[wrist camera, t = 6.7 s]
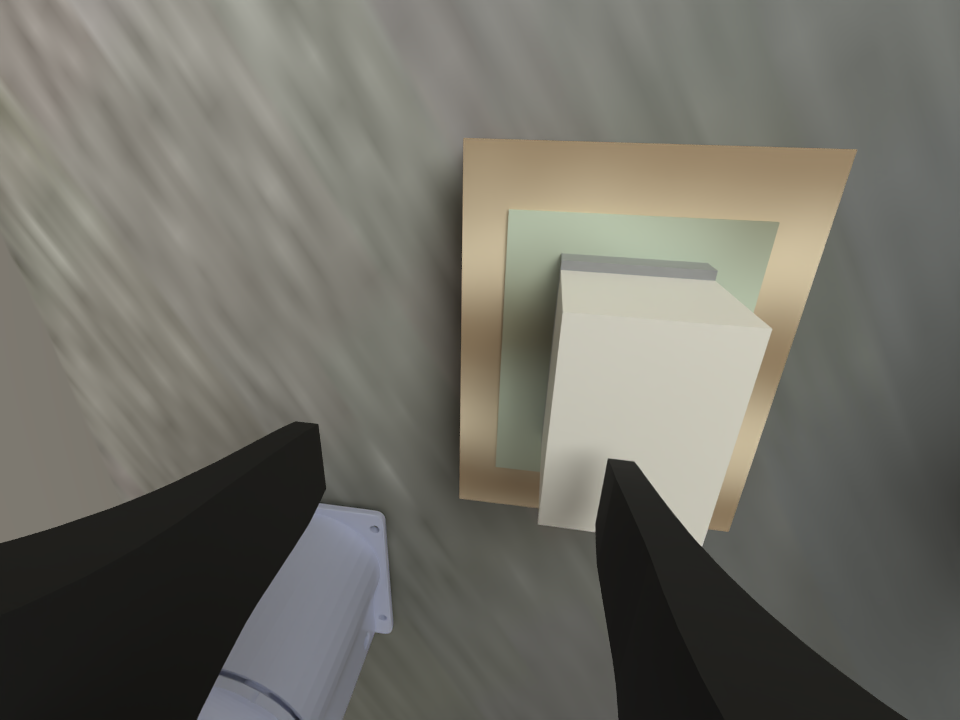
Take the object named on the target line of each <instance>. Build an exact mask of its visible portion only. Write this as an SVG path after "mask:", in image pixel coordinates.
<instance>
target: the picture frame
mask: <svg viewBox="0 0 960 720" xmlns="http://www.w3.org/2000/svg"><path fill="white" fill-rule="evenodd" d="M856 152H857V150H856V149H821V148H787V147H753V146H719V145H685V144H650V143H616V142H582V141H548V140H513V139H479V138H464V140H463V227H462V313H461V400H460V487H459V498H460V499H468V500H476V501H484V502H492V503H500V504H509V505H517V506H525V507H533V508H539V488H540V466H541V435H542V426H543V417H544V408H545V399H546V390H547V380H548V371H549V362H550V353H551V344H552V335H553V326H554V317H555V308H556V299H557V290H558V280H559V271H560V262H561V253H565V254H580V255H595V256H610V257H625V258H640V259H655V260H670V261H685V262H700V263H708V264H710V265H711V266H712V267H714V268H715V269H716V270H718V272H717V276H716V280H715V281H716V282H717V283H718V284H720V285H721V286H722V287H723V288H724V289H726V290H727V291H728V292H729V293H730V294H732V295H733V296H734V297H735V298H736V299H737V300H739V301H740V302H741V303H742V304H743V305H745V306H746V307H747V308H748V309H749V310H751V311H752V312H753V313H754V314H755V315H756V316H758V317H759V318H760V319H761V320H762V321H764V322H765V323H766V324H767V325H768V326H770V327H771V328H772V332H771V335H770V338H769V341H768V344H767V347H766V350H765V354H764V357H763V360H762V363H761V366H760V369H759V372H758V375H757V378H756V381H755V385H754V388H753V391H752V394H751V397H750V400H749V403H748V406H747V409H746V412H745V416H744V419H743V422H742V425H741V428H740V431H739V434H738V437H737V440H736V443H735V446H734V450H733V453H732V456H731V459H730V462H729V465H728V468H727V471H726V474H725V477H724V481H723V484H722V487H721V490H720V493H719V496H718V499H717V502H716V505H715V508H714V511H713V515H712V518H711V521H710V524H709V527H708V529H711V530H719V531H727V532H729V529H730V526H731V523H732V520H733V517H734V514H735V511H736V508H737V505H738V502H739V499H740V496H741V493H742V490H743V488H744V485H745V482H746V479H747V476H748V473H749V470H750V467H751V464H752V461H753V458H754V455H755V452H756V449H757V446H758V443H759V440H760V437H761V434H762V431H763V428H764V425H765V422H766V419H767V416H768V413H769V410H770V407H771V404H772V401H773V398H774V395H775V392H776V389H777V386H778V384H779V381H780V378H781V375H782V372H783V369H784V366H785V363H786V360H787V357H788V354H789V351H790V348H791V345H792V342H793V339H794V336H795V333H796V330H797V327H798V324H799V321H800V318H801V315H802V312H803V309H804V306H805V303H806V300H807V297H808V294H809V291H810V288H811V285H812V282H813V280H814V277H815V274H816V271H817V268H818V265H819V262H820V259H821V256H822V253H823V250H824V247H825V244H826V241H827V238H828V235H829V232H830V229H831V226H832V223H833V220H834V217H835V214H836V211H837V208H838V205H839V202H840V199H841V196H842V193H843V190H844V187H845V184H846V181H847V178H848V176H849V173H850V170H851V167H852V164H853V161H854V158H855V155H856Z"/></svg>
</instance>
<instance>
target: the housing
mask: <svg viewBox="0 0 960 720" xmlns="http://www.w3.org/2000/svg"><path fill="white" fill-rule="evenodd" d="M717 272H718V270H716V269H715V268H714V267H712V266H711V265H710V264H708V263H700V262H685V261H670V260H655V259H640V258H625V257H610V256H595V255H580V254H565V253H561V262H560V271H559V280H558V290H557V299H556V308H555V317H554V326H553V335H552V344H551V353H550V362H549V371H548V380H547V390H546V399H545V408H544V417H543V426H542V435H541V466H540V488H539V510H538V525H546V526H553V527H561V528H568V529H576V530H583V531H591V532H595V523H596V517H597V512H598V507H599V502H600V496H601V491H602V486H603V481H604V476H605V470H606V465H607V460H608V458H610V459H618V460H627V461H634V462H635V463H636V464H637V465H638V467H639V468H640V469H641V471H642V472H643V473H644V475H645V476H646V478H647V479H648V480H649V482H650V483H651V484H652V486H653V487H654V488H655V490H656V491H657V492H658V494H659V495H660V496H661V498H662V499H663V500H664V502H665V503H666V504H667V506H668V507H669V508H670V509H671V511H672V512H673V513H674V514H675V516H676V517H677V518H678V519H679V521H680V522H681V523H682V524H683V526H684V527H685V528H686V529H687V530H688V532H689V533H690V534H691V535H692V536H693V538H694V539H695V540H696V541H697V542H698V543H699V544H700V545H701V546H703V542H704V539H705V536H706V533H707V530H708V527H709V524H710V521H711V518H712V515H713V511H714V508H715V505H716V502H717V499H718V496H719V493H720V490H721V487H722V484H723V481H724V477H725V474H726V471H727V468H728V465H729V462H730V459H731V456H732V453H733V450H734V446H735V443H736V440H737V437H738V434H739V431H740V428H741V425H742V422H743V419H744V416H745V412H746V409H747V406H748V403H749V400H750V397H751V394H752V391H753V388H754V385H755V381H756V378H757V375H758V372H759V369H760V366H761V363H762V360H763V357H764V354H765V350H766V347H767V344H768V341H769V338H770V335H771V332H772V328H771V327H770V326H768V325H767V324H766V323H765V322H764V321H762V320H761V319H760V318H759V317H758V316H756V315H755V314H754V313H753V312H752V311H751V310H749V309H748V308H747V307H746V306H745V305H743V304H742V303H741V302H740V301H739V300H737V299H736V298H735V297H734V296H733V295H732V294H730V293H729V292H728V291H727V290H726V289H724V288H723V287H722V286H721V285H720V284H718V283H717V282H716V281H715V280H716V276H717Z"/></svg>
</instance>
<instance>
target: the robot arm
mask: <svg viewBox="0 0 960 720" xmlns="http://www.w3.org/2000/svg"><path fill="white" fill-rule="evenodd" d="M325 490H326V484H325V475H324V467H323V459H322V451H321V442H320V434H319V426H318V424H313V423H304V422H293V423H291V424H289V425H287V426H284V427H282V428H280V429H278V430H276V431H274V432H272V433H270V434H269V435H267V436H265V437H263V438H261V439H259V440H257V441H255V442H253V443H252V444H250V445H248V446H246V447H244V448H242V449H240V450H238V451H236V452H234V453H232V454H231V455H229V456H227V457H225V458H223V459H221V460H219V461H217V462H215V463H213V464H211V465H209V466H207V467H205V468H203V469H201V470H198V471H196V472H194V473H192V474H190V475H188V476H186V477H184V478H182V479H180V480H178V481H176V482H174V483H171V484H169V485H167V486H165V487H162V488H160V489H158V490H155V491H153V492H151V493H148V494H146V495H143V496H141V497H138V498H136V499H133V500H131V501H128V502H126V503H123V504H121V505H119V506H116V507H113V508H110V509H107V510H105V511H102V512H99V513H96V514H93V515H90V516H87V517H84V518H81V519H78V520H75V521H73V522H70V523H67V524H64V525H61V526H58V527H55V528H52V529H48V530H45V531H42V532H39V533H35V534H32V535H28V536H25V537H21V538H18V539H15V540H11V541H7V542H3V543H0V720H343V717H344V715H345V712H346V709H347V706H348V704H349V701H350V698H351V696H352V693H353V690H354V687H355V685H356V682H357V679H358V677H359V674H360V671H361V669H362V666H363V663H364V660H365V658H366V655H367V652H368V650H369V647H370V644H371V641H372V639H373V636H374V633H375V632H377V633H383V634H388V633H390V632H391V631H392V628H393V612H392V599H391V586H390V572H389V559H388V546H387V533H386V520H385V516H384V515H383V514H382V513H381V512H379V511H375V510H368V509H360V508H352V507H345V506H337V505H329V504H321V503H320V501H321V498H322V496H323V494H324V492H325ZM375 526H377V527H378V528H377V527H375ZM595 533H596V555H597V568H598V574H599V581H600V587H601V593H602V599H603V605H604V611H605V617H606V623H607V629H608V635H609V641H610V647H611V653H612V659H613V665H614V673H615V681H616V691H617V705H618V718H619V720H908V719H906V718H905V717H903V716H902V715H900V714H899V713H897V712H896V711H894V710H893V709H891V708H890V707H888V706H887V705H885V704H884V703H883V702H881V701H880V700H878V699H877V698H876V697H874V696H873V695H871V694H870V693H869V692H867V691H866V690H865V689H863V688H862V687H861V686H859V685H858V684H857V683H855V682H854V681H853V680H851V679H850V678H849V677H847V676H846V675H845V674H843V673H842V672H841V671H839V670H838V669H836V668H835V667H834V666H833V665H831V664H830V663H829V662H827V661H826V660H825V659H824V658H822V657H821V656H820V655H819V654H817V653H816V652H815V651H813V650H812V649H811V648H810V647H808V646H807V645H806V644H805V643H804V642H802V641H801V640H800V639H799V638H798V637H796V636H795V635H794V634H793V633H792V632H790V631H789V630H788V629H787V628H786V627H785V626H783V625H782V624H781V623H780V622H779V621H777V620H776V619H775V618H774V617H773V616H772V615H770V614H769V613H768V612H767V611H766V610H765V609H764V608H763V607H761V606H760V605H759V604H758V603H757V602H756V601H755V600H754V599H753V598H752V597H751V596H750V595H749V594H748V593H746V592H745V591H744V590H743V589H742V588H741V587H740V586H739V585H738V584H737V583H736V582H735V581H734V580H733V579H732V578H731V577H730V576H729V575H728V574H727V573H726V572H725V571H724V570H723V569H722V568H721V567H720V566H719V565H718V564H717V563H716V562H715V561H714V560H713V559H712V558H711V556H710V555H709V554H708V553H707V552H706V551H705V550H704V549H703V548H702V547H701V545H700V544H699V543H698V542H697V541H696V540H695V539H694V538H693V536H692V535H691V534H690V533H689V532H688V530H687V529H686V528H685V527H684V526H683V524H682V523H681V522H680V521H679V519H678V518H677V517H676V516H675V514H674V513H673V512H672V511H671V509H670V508H669V507H668V506H667V504H666V503H665V502H664V500H663V499H662V498H661V496H660V495H659V494H658V492H657V491H656V490H655V488H654V487H653V486H652V484H651V483H650V482H649V480H648V479H647V478H646V476H645V475H644V473H643V472H642V471H641V469H640V468H639V467H638V465H637V464H636V463H635V462H634V461H627V460H618V459H610V458H608V460H607V465H606V470H605V476H604V481H603V486H602V491H601V496H600V502H599V507H598V512H597V517H596V523H595Z"/></svg>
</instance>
